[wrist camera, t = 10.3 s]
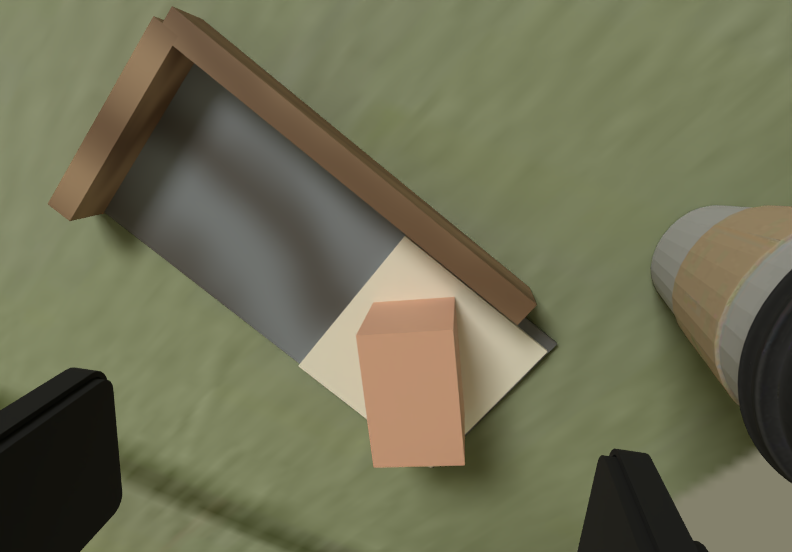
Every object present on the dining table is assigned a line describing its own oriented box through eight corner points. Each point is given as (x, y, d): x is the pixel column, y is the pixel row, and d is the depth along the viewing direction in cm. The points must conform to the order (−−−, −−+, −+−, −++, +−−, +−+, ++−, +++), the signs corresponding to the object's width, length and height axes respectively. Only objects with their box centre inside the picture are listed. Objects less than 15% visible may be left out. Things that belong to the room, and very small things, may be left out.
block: (373, 302, 30) (355, 335, 25) (454, 296, 29) (453, 329, 24) (387, 415, 31) (373, 467, 26) (464, 413, 31) (465, 465, 26)
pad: (405, 234, 29) (404, 236, 28) (546, 349, 29) (547, 351, 29) (299, 363, 31) (298, 365, 31) (431, 465, 32) (430, 468, 32)
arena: (194, 12, 27) (163, -2, 24) (574, 324, 29) (586, 345, 26) (86, 197, 31) (47, 204, 28) (432, 465, 32) (429, 498, 30)
